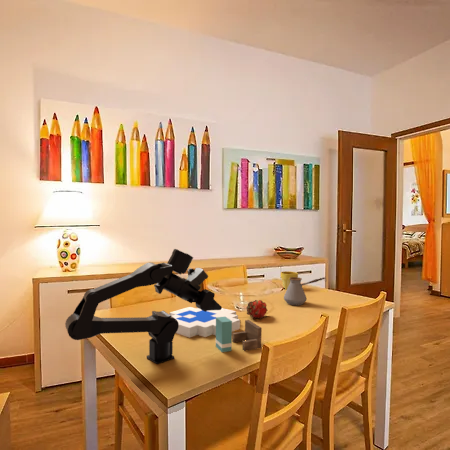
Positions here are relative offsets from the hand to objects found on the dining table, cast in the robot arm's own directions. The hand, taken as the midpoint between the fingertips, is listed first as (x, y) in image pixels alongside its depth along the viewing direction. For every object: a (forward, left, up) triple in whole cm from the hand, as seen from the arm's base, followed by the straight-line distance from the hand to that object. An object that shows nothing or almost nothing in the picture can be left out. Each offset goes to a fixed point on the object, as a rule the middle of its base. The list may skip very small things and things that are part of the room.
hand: (214, 305), depth 120 cm
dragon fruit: (+36, +12, -15) cm, 41 cm away
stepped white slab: (+12, +20, -15) cm, 28 cm away
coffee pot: (+69, +10, -15) cm, 72 cm away
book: (+2, -3, -14) cm, 15 cm away
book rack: (+9, -6, -14) cm, 18 cm away
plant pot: (+93, +37, -15) cm, 102 cm away
